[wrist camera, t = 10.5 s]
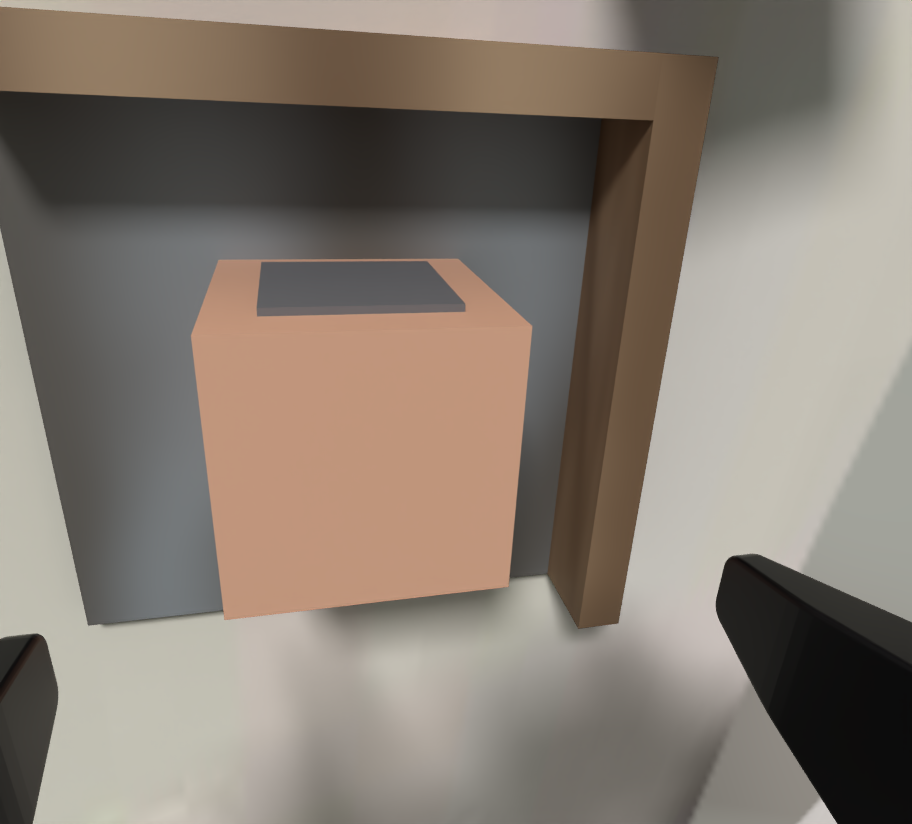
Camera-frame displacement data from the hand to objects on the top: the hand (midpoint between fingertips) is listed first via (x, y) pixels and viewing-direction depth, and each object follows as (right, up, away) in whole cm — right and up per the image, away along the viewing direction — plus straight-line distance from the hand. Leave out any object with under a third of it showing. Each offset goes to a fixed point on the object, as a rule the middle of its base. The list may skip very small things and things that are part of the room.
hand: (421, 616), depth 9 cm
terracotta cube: (-2, +4, +8) cm, 9 cm away
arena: (-3, +3, +9) cm, 10 cm away
